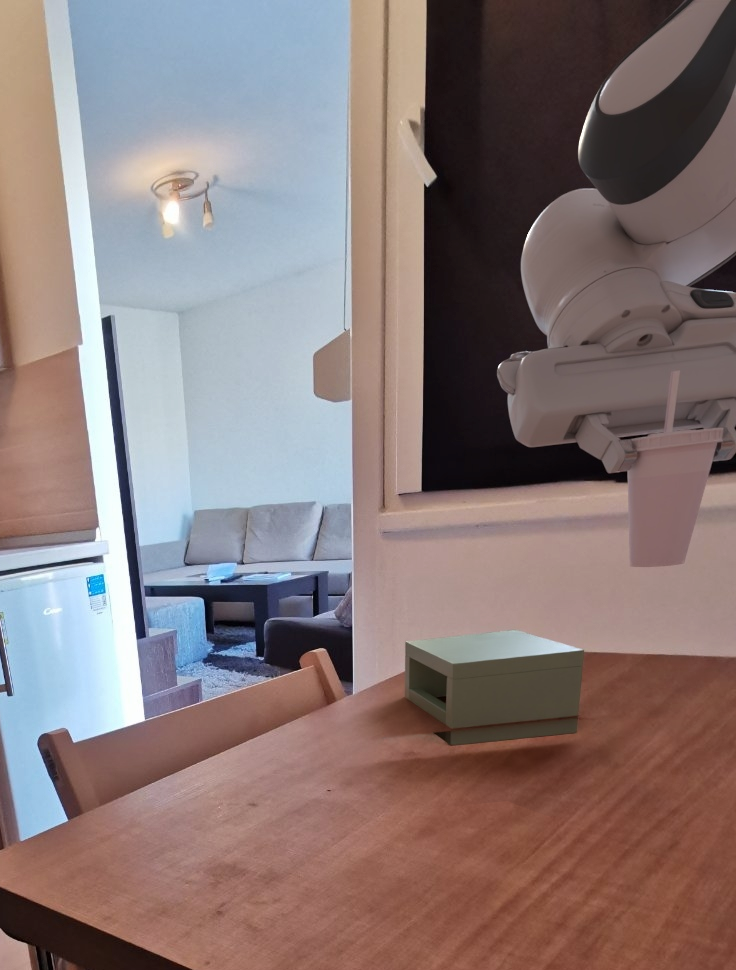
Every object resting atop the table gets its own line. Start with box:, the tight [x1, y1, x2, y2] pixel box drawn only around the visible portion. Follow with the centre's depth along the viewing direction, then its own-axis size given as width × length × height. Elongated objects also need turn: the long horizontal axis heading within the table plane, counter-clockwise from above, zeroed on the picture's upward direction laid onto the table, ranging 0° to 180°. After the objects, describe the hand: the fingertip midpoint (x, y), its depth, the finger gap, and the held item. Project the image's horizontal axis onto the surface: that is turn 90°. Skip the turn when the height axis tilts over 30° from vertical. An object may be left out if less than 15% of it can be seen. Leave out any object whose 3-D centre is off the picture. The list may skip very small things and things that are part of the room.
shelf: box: [404, 629, 585, 746], centre depth 78 cm, size 12×14×8 cm
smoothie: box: [626, 370, 723, 568], centre depth 60 cm, size 6×6×14 cm
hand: (675, 459), depth 59 cm, fingers closed on smoothie, 6 cm apart
